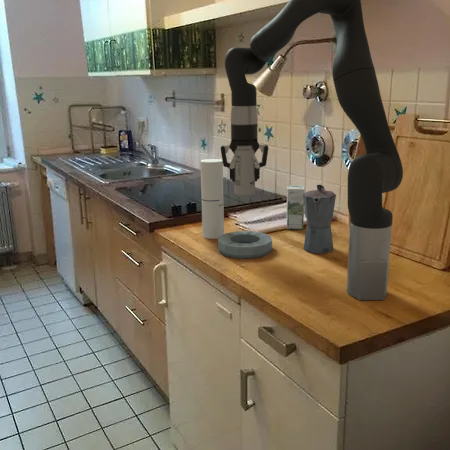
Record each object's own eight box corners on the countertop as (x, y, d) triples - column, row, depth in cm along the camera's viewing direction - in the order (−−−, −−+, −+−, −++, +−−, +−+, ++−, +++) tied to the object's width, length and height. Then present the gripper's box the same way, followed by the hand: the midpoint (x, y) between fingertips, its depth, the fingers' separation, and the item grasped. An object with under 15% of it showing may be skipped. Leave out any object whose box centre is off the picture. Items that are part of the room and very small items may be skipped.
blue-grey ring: (273, 258, 144) (273, 246, 143) (217, 259, 144) (217, 247, 143) (269, 241, 159) (269, 230, 158) (218, 241, 159) (218, 231, 158)
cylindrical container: (199, 234, 168) (196, 160, 161) (218, 231, 171) (217, 158, 164) (207, 240, 162) (205, 163, 155) (227, 236, 164) (226, 161, 157)
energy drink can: (255, 198, 144) (255, 145, 140) (234, 198, 144) (234, 146, 140) (254, 193, 150) (254, 143, 146) (234, 194, 150) (233, 143, 146)
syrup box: (302, 225, 176) (303, 184, 172) (303, 230, 170) (304, 188, 166) (286, 225, 177) (287, 184, 173) (286, 229, 171) (287, 188, 167)
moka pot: (299, 256, 145) (300, 188, 140) (304, 240, 160) (305, 178, 154) (332, 258, 143) (335, 189, 137) (334, 241, 157) (337, 179, 152)
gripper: (218, 123, 138) (219, 184, 142) (270, 122, 137) (270, 183, 142) (218, 121, 145) (220, 179, 149) (268, 120, 145) (268, 178, 149)
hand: (244, 180), depth 146 cm, fingers closed on energy drink can, 6 cm apart
